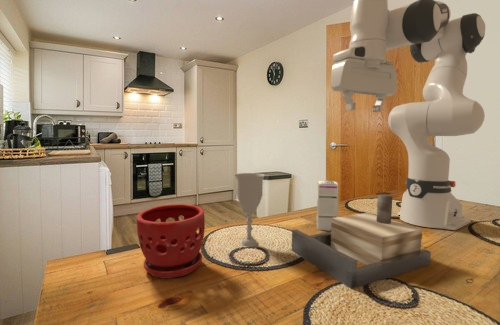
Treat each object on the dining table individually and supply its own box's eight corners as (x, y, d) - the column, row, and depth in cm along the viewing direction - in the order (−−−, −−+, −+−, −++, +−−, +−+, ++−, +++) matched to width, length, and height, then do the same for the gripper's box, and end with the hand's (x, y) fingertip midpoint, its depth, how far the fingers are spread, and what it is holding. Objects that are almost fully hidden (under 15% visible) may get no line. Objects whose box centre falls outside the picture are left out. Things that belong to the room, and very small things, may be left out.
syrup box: (337, 235, 79) (340, 184, 78) (316, 233, 80) (318, 183, 79) (335, 228, 84) (337, 180, 83) (315, 227, 86) (317, 180, 84)
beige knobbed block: (366, 239, 73) (369, 189, 71) (420, 261, 60) (424, 201, 59) (330, 246, 67) (332, 193, 66) (380, 272, 55) (384, 206, 54)
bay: (360, 241, 75) (362, 218, 74) (429, 270, 58) (431, 242, 58) (291, 255, 65) (292, 230, 64) (350, 295, 49) (352, 261, 48)
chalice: (241, 256, 64) (242, 177, 63) (229, 245, 70) (230, 174, 69) (269, 250, 68) (270, 176, 66) (255, 241, 74) (256, 172, 72)
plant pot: (152, 254, 65) (151, 202, 64) (209, 255, 64) (209, 204, 63) (125, 283, 52) (124, 219, 51) (197, 285, 51) (197, 221, 50)
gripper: (384, 64, 80) (381, 113, 81) (327, 54, 71) (325, 110, 72) (404, 59, 74) (401, 112, 75) (346, 47, 65) (343, 108, 66)
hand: (364, 111), depth 74 cm, fingers open, 8 cm apart
